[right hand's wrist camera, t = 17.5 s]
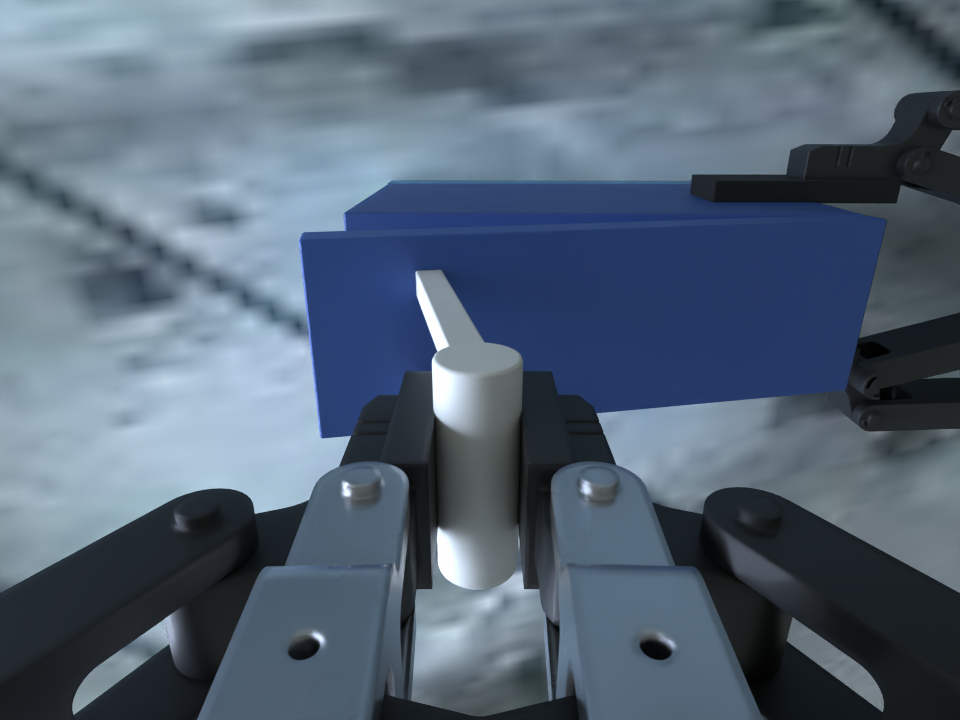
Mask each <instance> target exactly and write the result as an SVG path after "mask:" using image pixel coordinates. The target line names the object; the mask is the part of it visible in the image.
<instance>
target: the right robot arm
mask: <svg viewBox="0 0 960 720" xmlns="http://www.w3.org/2000/svg"><path fill="white" fill-rule="evenodd" d="M518 528H519V539H520V550H521V561H522V572H523V583H524V589H539V590H540V598H541V604H542V608H543V610H544V612H545V616H544V637H545V652H546V666H547V680H548V694H549V701H547V702H543V703H539V704H535V705H530V706H526V707H522V708H518V709H514V710H510V711H506V712H502V713H498V714H494V715H490V716H470V715H466V714H462V713H458V712H454V711H450V710H446V709H442V708H438V707H434V706H430V705H425V704H421V703H417V702H413V701H411V694H412V680H413V666H414V652H415V638H416V615H415V596H416V589H432V584H433V574H434V564H435V554H436V544H437V534H438V501H437V468H436V435H435V413H434V409H433V380H432V371H405V374H404V377H403V380H402V384H401V387H400V391H399V394H398V395H378V396H376V397H375V398H374V399H373V400H371V401H370V402H369V403H367V404H366V405H365V406H363V408H362V411H361V413H360V416H359V418H358V423H356V426H355V428H354V431H353V435H352V436H351V438H350V441H349V443H348V446H347V448H346V451H345V453H344V456H343V458H342V461H341V463H340V466H339V467H338V468H335V469H333V470H331V471H329V472H328V473H326V474H325V475H324V476H322V477H321V478H320V479H319V480H318V481H317V483H316V484H315V486H314V489H313V491H312V494H311V497H310V499H309V500H308V501H306V502H303V503H301V504H298V505H295V506H291V507H287V508H283V509H278V510H273V511H268V512H263V513H258V514H255V513H254V507H253V502H252V501H251V499H250V498H249V497H248V496H247V495H245V494H244V493H242V492H239V491H236V490H231V489H207V490H201V491H196V492H192V493H189V494H186V495H183V496H180V497H178V498H176V499H173V500H171V501H169V502H167V503H166V504H164V505H162V506H160V507H158V508H156V509H154V510H153V511H151V512H149V513H147V514H145V515H143V516H142V517H140V518H138V519H136V520H134V521H132V522H130V523H129V524H127V525H125V526H123V527H121V528H119V529H118V530H116V531H114V532H112V533H110V534H108V535H107V536H105V537H103V538H101V539H99V540H97V541H95V542H94V543H92V544H90V545H88V546H86V547H84V548H83V549H81V550H79V551H77V552H75V553H73V554H71V555H70V556H68V557H66V558H64V559H62V560H60V561H59V562H57V563H55V564H53V565H51V566H49V567H47V568H46V569H44V570H42V571H40V572H38V573H36V574H35V575H33V576H31V577H29V578H27V579H25V580H23V581H22V582H20V583H18V584H16V585H14V586H12V587H11V588H9V589H7V590H5V591H3V592H1V593H0V720H960V593H959V592H957V591H955V590H953V589H951V588H949V587H948V586H946V585H944V584H942V583H940V582H938V581H937V580H935V579H933V578H931V577H929V576H927V575H925V574H924V573H922V572H920V571H918V570H916V569H914V568H913V567H911V566H909V565H907V564H905V563H903V562H901V561H900V560H898V559H896V558H894V557H892V556H890V555H889V554H887V553H885V552H883V551H881V550H879V549H877V548H876V547H874V546H872V545H870V544H868V543H866V542H865V541H863V540H861V539H859V538H857V537H855V536H853V535H852V534H850V533H848V532H846V531H844V530H842V529H841V528H839V527H837V526H835V525H833V524H831V523H829V522H828V521H826V520H824V519H822V518H820V517H818V516H817V515H815V514H813V513H811V512H809V511H807V510H805V509H804V508H802V507H800V506H798V505H796V504H794V503H793V502H791V501H789V500H787V499H785V498H783V497H781V496H778V495H775V494H773V493H770V492H766V491H763V490H758V489H753V488H744V487H733V488H725V489H721V490H718V491H715V492H714V493H712V494H710V495H709V496H708V497H707V499H706V501H705V504H704V510H703V514H698V513H693V512H688V511H683V510H678V509H673V508H669V507H665V506H661V505H658V504H655V503H652V502H651V499H650V497H649V494H648V491H647V489H646V486H645V484H644V483H643V481H642V480H641V479H640V478H639V477H638V476H636V475H635V474H634V473H632V472H631V471H629V470H627V469H625V468H622V467H620V466H617V465H616V463H615V460H614V458H613V455H612V453H611V450H610V448H609V445H608V442H607V440H606V437H605V435H603V429H602V427H601V424H600V423H599V419H598V417H597V414H596V411H595V409H594V407H593V406H592V405H591V404H590V403H588V402H587V401H586V400H584V399H583V398H582V397H580V396H579V395H558V392H557V388H556V385H555V381H554V378H553V374H552V372H551V371H523V384H522V411H521V438H520V474H519V510H518ZM792 617H794V618H795V619H796V620H798V621H799V622H801V623H802V624H804V625H805V626H806V627H808V628H809V629H811V630H812V631H813V632H815V633H816V634H818V635H819V636H821V637H822V638H823V639H825V640H826V641H828V642H829V643H831V644H832V645H833V646H835V647H836V648H838V649H839V650H841V651H842V652H843V653H845V654H846V655H848V656H849V657H851V658H852V659H853V660H855V661H856V662H858V663H859V664H860V665H861V666H863V667H864V668H865V669H866V670H867V671H868V672H869V673H870V675H871V676H872V677H873V678H874V680H875V681H876V683H877V684H878V686H879V688H880V690H881V693H882V695H883V699H884V710H883V712H881V711H880V710H879V709H877V708H876V707H875V706H873V705H872V704H870V703H869V702H868V701H866V700H865V699H864V698H862V697H861V696H860V695H858V694H857V693H856V692H854V691H853V690H852V689H850V688H849V687H848V686H846V685H845V684H844V683H842V682H841V681H840V680H838V679H837V678H835V677H834V676H833V675H831V674H830V673H829V672H827V671H826V670H825V669H823V668H822V667H821V666H819V665H818V664H817V663H815V662H814V661H813V660H811V659H810V658H809V657H807V656H806V655H804V654H803V653H802V652H800V651H799V650H798V649H796V648H795V647H794V646H792V645H791V644H790V643H788V642H787V637H788V633H789V629H790V625H791V621H792ZM162 620H163V621H164V625H165V629H166V633H167V637H168V641H169V645H168V646H166V647H165V648H164V649H162V650H161V651H160V652H158V653H157V654H155V655H154V656H153V657H151V658H150V659H149V660H147V661H146V662H145V663H143V664H142V665H141V666H139V667H138V668H137V669H135V670H134V671H133V672H131V673H130V674H129V675H127V676H126V677H125V678H123V679H122V680H120V681H119V682H118V683H116V684H115V685H114V686H112V687H111V688H110V689H108V690H107V691H106V692H104V693H103V694H102V695H100V696H99V697H98V698H96V699H95V700H94V701H92V702H91V703H89V704H88V705H87V706H85V707H84V708H83V709H81V710H80V711H79V712H77V713H76V714H75V715H73V712H72V703H73V699H74V696H75V693H76V691H77V689H78V687H79V686H80V684H81V683H82V681H83V680H84V679H85V678H86V676H87V675H88V674H89V673H90V672H91V671H92V670H93V669H94V668H96V667H97V666H98V665H100V664H101V663H102V662H104V661H105V660H107V659H108V658H109V657H111V656H112V655H114V654H115V653H117V652H118V651H119V650H121V649H122V648H124V647H125V646H127V645H128V644H129V643H131V642H132V641H134V640H135V639H137V638H138V637H139V636H141V635H142V634H144V633H145V632H146V631H148V630H149V629H151V628H152V627H154V626H155V625H156V624H158V623H159V622H161V621H162Z"/></svg>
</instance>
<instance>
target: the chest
mask: <svg viewBox="0 0 960 720" xmlns="http://www.w3.org/2000/svg"><path fill="white" fill-rule="evenodd" d="M690 189H691V181H391V182H389V183H388V185H386V186H385V187H383V188H382V189H380V190H379V191H377V192H376V193H374V194H373V195H371V196H370V197H368V198H366V199H365V200H363V201H362V202H360V203H359V204H357V205H356V206H354V207H353V208H351V209H350V210H348V211H347V212H345V213H344V226H345V231H363V230H394V229H424V228H455V227H486V226H516V225H547V224H578V223H608V222H639V221H670V220H700V219H731V218H762V217H792V216H823V215H854V214H859V213H855V212H851V211H847V210H844V209H840V208H836V207H832V206H828V205H824V204H820V203H816V202H711V201H709V200H706V199H703V198H700V197H698V196H695V195H692V194H690Z"/></svg>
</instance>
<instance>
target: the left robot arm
mask: <svg viewBox="0 0 960 720" xmlns="http://www.w3.org/2000/svg"><path fill="white" fill-rule="evenodd" d="M894 118H895V123H894V125H893V126H892V128H891V130H890V131H889V133H888V134H887V135H886V136H885V137H884V138H883V139H881V140H880V141H878V142H876V143H873V144H805V145H802V146H800V147H797V148H794V149H792V150H791V151H790V157H789V163H788V168H787V174H786V175H692V181H691V189H690V194H692V195H695V196H698V197H700V198H703V199H706V200H709V201H711V202H816V203H896V202H897V198H898V194H899V190H900V186H901V185H902V186H905V187H908V188H911V189H914V190H918V191H921V192H924V193H927V194H930V195H933V196H936V197H939V198H942V199H945V200H948V201H951V202H954V203H957V204H960V157H959V156H956V155H953V154H950V153H947V152H944V151H941V150H940V149H941V147H942V146H943V144H944V142H945V141H946V139H947V137H948V136H949V134H950V132H951V131H952V130H960V90H957V91H939V92H924V93H913V94H908V95H907V96H905V97H903V98H902V99H901V100H900V101H899V102H898V104H897V106H896V108H895V111H894ZM956 370H960V313H957V314H953V315H949V316H945V317H941V318H937V319H933V320H929V321H925V322H921V323H917V324H913V325H910V326H906V327H902V328H898V329H894V330H890V331H886V332H882V333H878V334H874V335H870V336H866V337H862V338H858V342H857V346H856V350H855V354H854V359H853V363H852V367H851V371H850V375H849V379H848V383H847V387H846V390H843V391H832V392H829V394H828V396H829V401H830V402H831V403H832V404H833V405H834V406H835V407H836V408H838V409H839V410H840V411H841V412H842V413H844V414H845V415H846V416H847V417H848V418H850V419H851V420H852V421H853V422H855V423H856V424H857V425H858V426H859V427H861V428H862V429H864V430H865V431H898V430H929V429H959V428H960V378H936V379H923V378H927V377H931V376H935V375H939V374H943V373H947V372H952V371H956Z"/></svg>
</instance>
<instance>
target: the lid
mask: <svg viewBox="0 0 960 720" xmlns="http://www.w3.org/2000/svg"><path fill="white" fill-rule="evenodd" d="M886 222H887V220H886V219H882V218H877V217H871V216H866V215H861V214H854V215H823V216H792V217H762V218H731V219H700V220H670V221H639V222H608V223H578V224H547V225H516V226H486V227H455V228H424V229H394V230H363V231H332V232H304V233H302V235H301V238H300V240H299V246H300V256H301V265H302V274H303V283H304V292H305V301H306V311H307V320H308V329H309V338H310V347H311V356H312V365H313V375H314V384H315V393H316V402H317V411H318V420H319V429H320V437H321V438H331V437H342V436H352V435H353V431H354V428H355V426H356V423H358V418H359V416H360V413H361V411H362V408H363V406H365V405H366V404H367V403H369V402H370V401H371V400H373V399H374V398H375V397H376V396H378V395H398V394H399V391H400V387H401V384H402V380H403V377H404V374H405V371H432V380H433V409H434V413H435V435H436V468H437V501H438V534H437V539H438V565H439V568H440V570H441V572H442V574H443V575H444V576H445V577H446V578H447V579H448V580H449V581H450V582H452V583H453V584H455V585H457V586H460V587H463V588H468V589H488V588H492V587H496V586H498V585H500V584H502V583H504V582H505V581H507V580H508V579H509V578H510V577H511V576H512V575H513V573H514V571H515V569H516V567H517V562H518V510H519V474H520V438H521V411H522V384H523V371H551V372H552V374H553V378H554V381H555V385H556V388H557V392H558V395H579V396H580V397H582V398H583V399H584V400H586V401H587V402H588V403H590V404H591V405H592V406H593V407H594V409H595V411H596V413H604V412H615V411H625V410H636V409H647V408H658V407H669V406H680V405H691V404H702V403H712V402H723V401H734V400H745V399H756V398H767V397H778V396H789V395H800V394H810V393H821V392H832V391H843V390H846V387H847V383H848V379H849V375H850V371H851V367H852V363H853V359H854V354H855V350H856V346H857V342H858V338H859V334H860V330H861V326H862V321H863V317H864V313H865V309H866V305H867V301H868V297H869V293H870V288H871V284H872V280H873V276H874V272H875V268H876V264H877V260H878V255H879V251H880V247H881V243H882V239H883V235H884V231H885V227H886Z"/></svg>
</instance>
